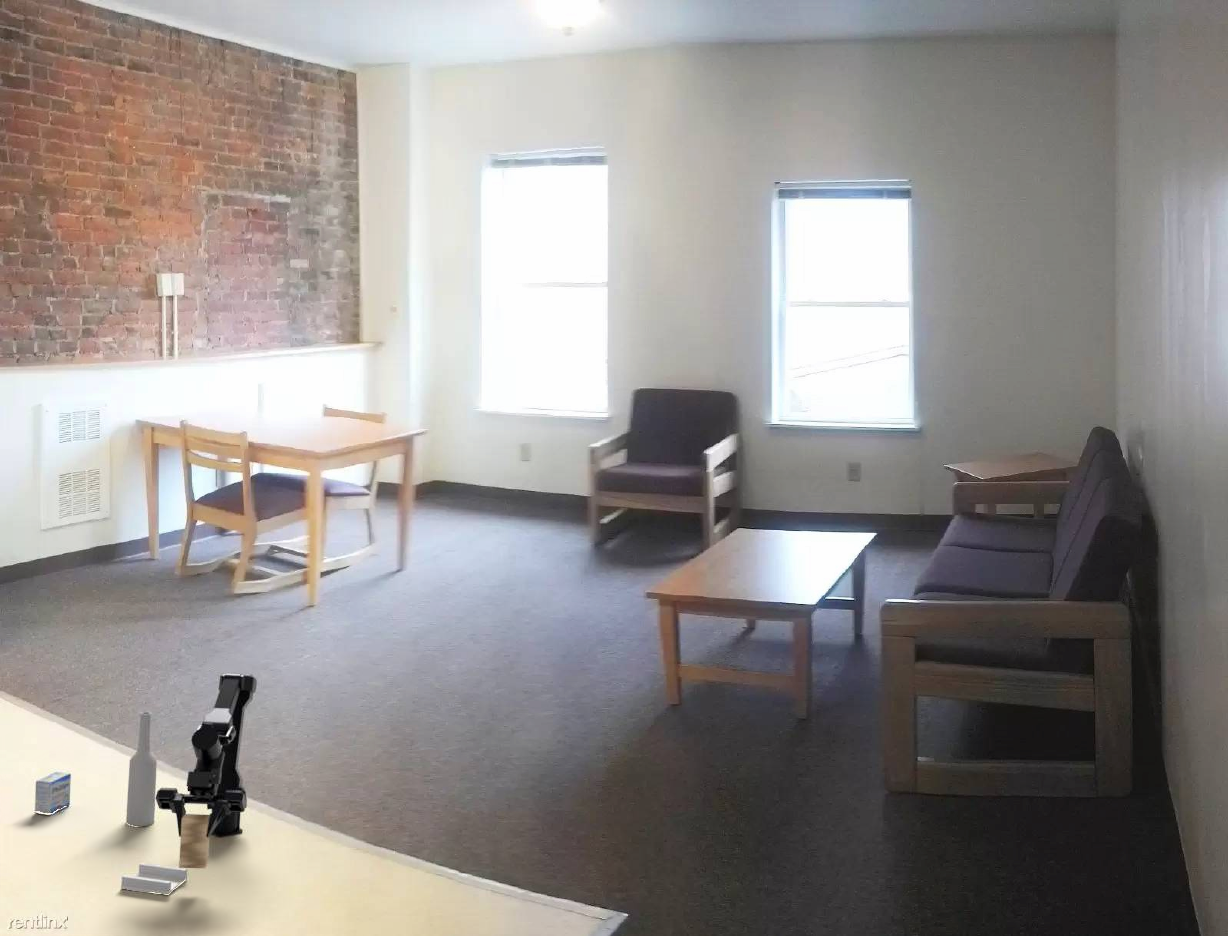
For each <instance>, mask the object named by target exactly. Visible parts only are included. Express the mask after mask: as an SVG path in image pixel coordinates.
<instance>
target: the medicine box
mask: <svg viewBox="0 0 1228 936" xmlns="http://www.w3.org/2000/svg"><path fill="white" fill-rule="evenodd" d="M71 779H72V775H71V773H68V772H63V771H56V772H54V773H51V774H49V775H47V776H44V777H42V778H39V779H38V780H36V781H35V794H34V796H35V799H34V800H35V801H34V812H35V811H40V812H43V813H53V812H54V811H56V810H57V809H61V808H63V807H64V806H68V805H69V806H70V804H71ZM69 806H68V807H69Z"/></svg>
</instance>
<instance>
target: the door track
mask: <svg viewBox="0 0 1228 936" xmlns="http://www.w3.org/2000/svg"><path fill="white" fill-rule="evenodd" d="M138 865H139V866H138V873H137V874H135V875H128V874H124V875H122V876H121V886H120V890H122V889H128V890H132V891H131V892H135V891H140V892H139V893H142V892H155V893H161V894H169V893H170V892H171V891H172V890H173V889H174V888H176V887H177V886H178V885H179V884H180V883H181V882H183V881H184V880H185V879H187V880H188V868H179V867H177V866H169V865H162V864H155V863H147V862H140V863H139V864H138ZM128 890H127V891H128Z"/></svg>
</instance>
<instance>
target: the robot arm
mask: <svg viewBox="0 0 1228 936" xmlns="http://www.w3.org/2000/svg"><path fill="white" fill-rule="evenodd" d="M257 681H258V679H257V678H256V677H255V676H253V674H252V673H250V674H249V673H232V672H231V673H229V672H227V673H223V674H222V675H220V676H219V682H218V694H217V698H216V701H215V704H214V707H213V710H212V711H210V712H208V713H207V714H205V716H204V718H203V720H202V723H201V724H199V725H198V727H197V728H196V731H195V732H194V733H193V735H192V736H191V744H192V749H193V752H194V755H195V757H196V759H197V760H196V763H195V766H194V767H195V768H194V770H193V771H188V773H187V781H186V787H187V792H189V793H188V794H186V793H184V794H183V793H179V792H178V789H177V788H176V787H161V788H159V789H158V790H157V792H156V794H155V802H156V804H157V806H158V809H160V810H167V811H169V810H170V811H171V813H172V814H175V815H176V823H177V833H178V836H179V837H180V838H181V821H182V818H183V816H184V815H185V814H187V811H186V807H185V806H186V804H192V805H194V804H195V805H206V808H207V809H206V810H211V813H210V814H209V815H211V817H210V822H209V825H208V829H207V834H206V837H207V838H209V839H210V837H211V835H212V834H213V835H215V836H216V837H218V838H221V837H226V836H230V835H235V834H240V833H243V830H244V829H243V828H241V826H240V825H241V813H243V812H245V810H246V809H247V804H248V803H247V802H248V799H247V792H246V789H245V786H244V785H243V782H244V781H243V777H242V775H241V772H240V770H239V761H240V751H241V742H242V735H243V729H244V727H243V726H244V719H245V718H244V717H245V710H246V709H247V707H248V706H250V703H251V702H252V701H253V698H254V694H255V693H256V691H257V685H258V682H257Z"/></svg>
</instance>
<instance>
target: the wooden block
mask: <svg viewBox="0 0 1228 936" xmlns="http://www.w3.org/2000/svg"><path fill="white" fill-rule="evenodd" d="M210 817H211V815H210V814H197V813H195V814H194V813H193V814H191V813H186V814H185V815H184V816H183V818H182V821H181V837H180V843H179V844H180V845H179V859H178V860H179V865H178V866H179V867H178V868H184V869H206V867H207V866H208V864H209V853H210V851H209V850H210V837H209V838H207V837H206V834H207V829H208V825H209V822H210Z"/></svg>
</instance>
